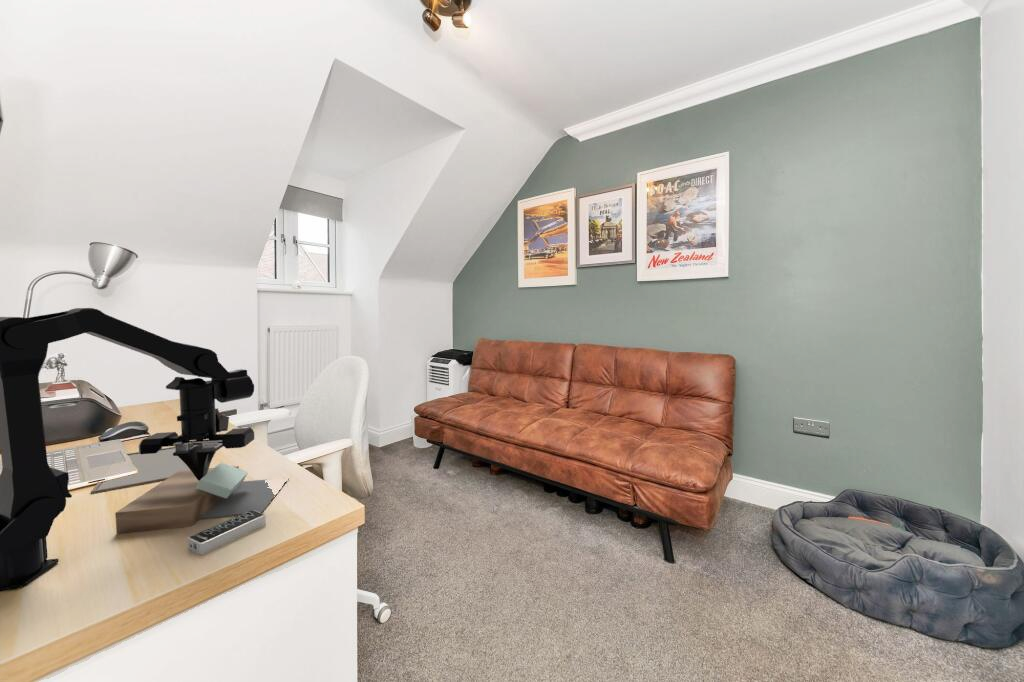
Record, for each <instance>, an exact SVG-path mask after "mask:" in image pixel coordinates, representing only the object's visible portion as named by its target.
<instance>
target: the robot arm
mask: <svg viewBox="0 0 1024 682" xmlns="http://www.w3.org/2000/svg"><path fill="white" fill-rule="evenodd" d="M82 334H87V335H90V336H93V337H95V338H99V339H100V340H104V341H107V342H108V343H109V342H110V343H112V344H115V345H118V346H120V347H123V348H127V349H130V350H132V351H135V352H138V353H140V354H142V355H146V356H149V357H151V358H153V359H155V360H157V361H159V362H160V364H162V365H164V367H167V368H169V369H170V370H172V371H174V372H175V373H177V374H180V375H184V376H194V377H196V378H188V379H186V378H185V377H182V376H175V377H174V379H173V380H172V381H171V382H169V383H168V384H166V385H165V389H167V390H172V391H179V392H178V393H179V407H180V408H179V410H180V414H179V415H177V416H176V421H177V422H180V427H181V429H180V430H181V434H179V433H177V432H176V431H169V432H165V431H164V432H156V433H154V434H152V435H150V436H146V437H145V438H142V440H141V441H140V442H139V445H138V452H139V454H153V453H157V452H158V451H160V450H161V449H162V448H169V447H175V452H174V453H173V456H178V457H179V458H180V459H181V460H182V461H183V462H184V463H185V464H186V465H187V466H188V467H189V469H190V470H191V471H192V473H193V474H194V475H195V477H196V478H197V479H198V481H200V479H202V478H203V477H204V476H205V475H206V474H207V472H208V469H209V468H210V466H211V462H212V460H213V458H214V456H215V454H216V452H217V451H219V450H220V449H222V448H226V449H227V450H228V449H241V448H244V447H246V446H248V444H250V443H252V442H253V441H254V440H255V431H254V430H253V429H252V427H240V428H239V427H238V428H232V429H230V431H229V430H228V429H229V421H230V420H229V419H230V417H229V416H226V415H222V414H221V415H220V411H219V407H218V408H217V407H216V401H217V402H218V403H223V404H224V403H229V402H234V401H239V400H245V399H248V398H251V397H252V396H253V395H254V392H255V383H254V382H253V380H252V378H251V377H250V376H249V374H248V370H247V369H243V368H240V369H234V370H232V371H231V370H230V371H228V370H227V369H226V368H225V367H224V365H222V364H221V362H220V361H219V359H218V354H217V353H216V351H214V350H211V349H210V348H205V347H201V346H197V345H191V344H186V343H182V342H181V343H180V342H177V341H173V340H170V339H168V338H165V337H163V336H160V335H158V334H155V333H153V332H150V331H148V330H145V329H143V328H141V327H138V326H136V325H133V324H131V323H128V322H126V321H123V320H121V319H118V318H115V317H113V316H111V315H108V314H107V313H104V312H103V311H101V310H100V309H98V308H94V307H76V308H75V307H74V308H71V309H69V310H65V311H61V312H55V313H47V314H43V315H42V314H41V315H35V316H30V317H19V316H0V457H1V466H2V468H1V469H2V470H1V472H0V591H6V590H12V589H13V590H14V589H19V588H22V587H24V586H25V585H27V584H28V583H30V582H31V581H33V580H34V579H36V578H37V577H38V576H40V575H42V574H43V573H45V572H47V570H49V569H51V568H52V567H53V566H55V565H56V564H58V563H59V558H50V559H48V547H47V545H48V544H47V543H48V542H47V537H48V536H49V533H50V531H51V529H52V527H53V523H54V520H55V519H56V518H57V517H58V516H59V515H60V514H61V513H62V512H64V511H65V509H66V506H67V499H71V498H73V495H72V494H71V493H70V491H69V486H68V485H69V479H70V477H69V472H67V471H63V470H60V469H57V468H55V467H54V468H53V467H50V465H49V463H48V454H47V447H46V446H47V445H46V438H45V437H46V436H45V428H44V418H43V417H44V416H43V407H42V399H41V389H40V381H39V376H40V372H41V370H42V369H43V365H44V364H45V361H46V360H47V359H46V358H47V353H48V348H49V344H51V343H56V342H60V341H63V340H67V339H69V338H73V337H77V336H79V335H82ZM203 378H206V379H207V378H208V379H210V380H204V379H203ZM215 400H216V401H215ZM227 431H228V432H227ZM221 432H226V433H221ZM178 434H179V435H178ZM202 448H203V449H202Z"/></svg>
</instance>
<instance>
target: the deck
mask: <svg viewBox="0 0 1024 682" xmlns="http://www.w3.org/2000/svg"><path fill="white" fill-rule="evenodd" d="M231 466H232V467H235V468H238V469H240V468H239V465H231ZM214 468H215V467H209V469H208V472H207V474H208V473H209V472H210V471H211V470H212V469H214ZM198 483H199V481H198V479H197V478H196V477H195V475H194V474H193V473H192V471H191V470H180V471H178V472H177V473H175V474H174V475H172V476H171V477H169V478H168V479H166V480H164V481H160V482H159V484H157V485H155V486H154V487H152V488H151V489H149V490H148V491H146V492H145V493H143V494H142V495H140V496H138V497H137V498H135V499H133V501H131V502H129V503H128V504H126V505H125V506H123V507H122V508H119V510H117V511H116V512H115V513H114V514H115V515H114V516H115V525H116V526H115V528H116V529H115V530H116V535H119V534H128V533H129V534H130V533H136V532H137V533H139V532H145V531H146V532H147V531H155V530H156V531H157V530H166V529H175V528H176V529H177V528H185V527H186V528H187V527H194V525H195V524H196V523H198V522H199V521H200V520H201V519H200V517H201V516H202V515H203V514H204V513H205V512H206V511H207V510H209V509H210V508H211V507H212V506H213V505H214V504H215V503H216V502H217V501H218V500H219V499H220V498H221V497H220V496H217V495H214V494H211V493H209V492H206V491H203V490H200V489H197V488H196V487H197V485H198Z"/></svg>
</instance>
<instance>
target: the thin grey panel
mask: <svg viewBox="0 0 1024 682" xmlns="http://www.w3.org/2000/svg"><path fill="white" fill-rule="evenodd" d="M202 449H203V448H202ZM174 452H175V446H168V447H162V449H161V450H160V451H158V452H157V453H153V454H139V451H137V452H129V453H126V454H127V455H128V456H129V457H130V459H131V461H132V464H133V465H134V466H135V467H136V468H137V469H138V473H136V474H134V475H130V476H125V477H121V478H118V479H114V480H109V481H106V482H103V483H101V482H100V483H98V482H97V483H96V484H95V486H93V489H91V491H90V495H93V494H99V493H104V492H108V491H114V490H120V489H124V488H125V489H126V488H131V487H135V486H142V485H147V484H152V483H158V482H159V483H160V482H163V481H164V480H166V479H168V478H169V477H171V476H172V475H174V474H175V473H177V472H178V471H180V470H190V469H189V467H188V466H187V465H186V464H185V463H184V462H183V461H182V460H181V459H180V458H179V457H178V456H173V453H174ZM92 493H93V494H92Z"/></svg>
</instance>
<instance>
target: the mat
mask: <svg viewBox="0 0 1024 682" xmlns="http://www.w3.org/2000/svg"><path fill="white" fill-rule="evenodd" d="M265 480H266V479H256V480H244V481H243V482H242V483H241V484H240V485H239V486H238V487H237V488H236V489H235V490H234V491H233V492H232V493H231V494H230V495H229V496H228V497H227V498H223V497H221V498H220V499H219V500H218V501H217V502H216V503H215V504H214V505H213V506H212V507H211V508H210V509H209V510H207V511H206V512H205V513H204V514H203V515H202V516H201V517H200V519H199V520H205V519H214V518H215V519H216V518H225V517H236V516H239V515H241V514H243V513H246V512H248V511H251V510H255V511H257V512H260V513H262V512H263V513H264V511H265V510H266V509H267V508H268V506H269V505H270V504H269V503H270V502H272V501H273V500H274V499H275V497H276V496H275V495H274V494H273V492H272V489H270V488H267V487H269V486H268V483H267V482H266V483H265ZM274 496H275V497H274ZM273 498H274V499H273ZM272 499H273V500H272ZM271 500H272V501H271ZM266 507H267V508H266Z"/></svg>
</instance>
